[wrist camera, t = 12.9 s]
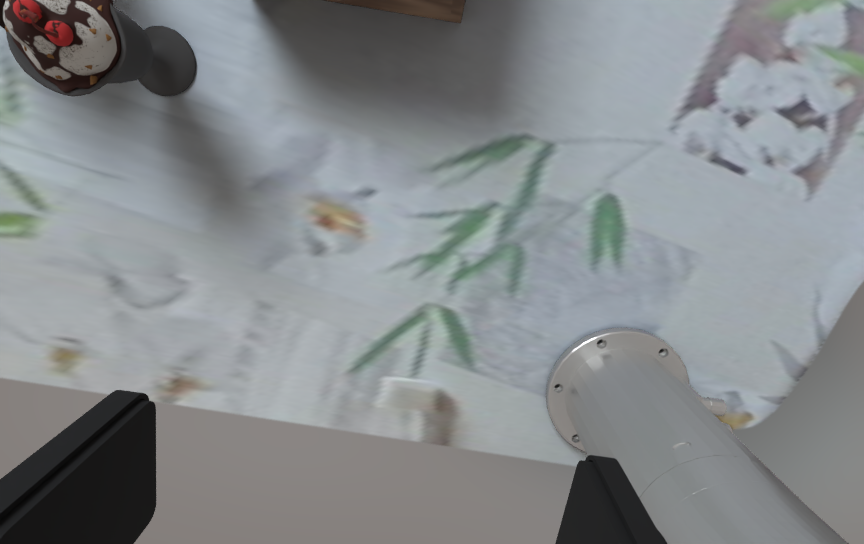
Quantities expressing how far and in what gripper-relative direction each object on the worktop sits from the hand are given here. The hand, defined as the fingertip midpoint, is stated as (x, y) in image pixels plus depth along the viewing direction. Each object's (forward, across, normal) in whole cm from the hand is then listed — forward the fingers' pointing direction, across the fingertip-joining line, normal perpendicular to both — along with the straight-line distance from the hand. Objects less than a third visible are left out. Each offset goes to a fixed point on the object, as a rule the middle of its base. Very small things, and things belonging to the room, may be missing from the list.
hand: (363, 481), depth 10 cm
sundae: (+31, +21, -10) cm, 38 cm away
